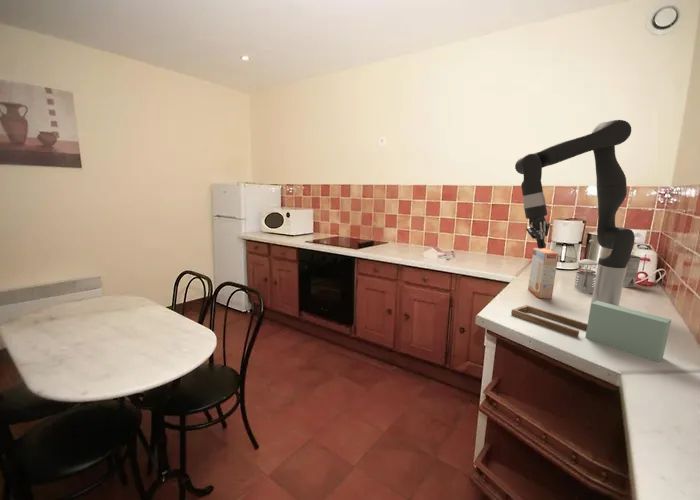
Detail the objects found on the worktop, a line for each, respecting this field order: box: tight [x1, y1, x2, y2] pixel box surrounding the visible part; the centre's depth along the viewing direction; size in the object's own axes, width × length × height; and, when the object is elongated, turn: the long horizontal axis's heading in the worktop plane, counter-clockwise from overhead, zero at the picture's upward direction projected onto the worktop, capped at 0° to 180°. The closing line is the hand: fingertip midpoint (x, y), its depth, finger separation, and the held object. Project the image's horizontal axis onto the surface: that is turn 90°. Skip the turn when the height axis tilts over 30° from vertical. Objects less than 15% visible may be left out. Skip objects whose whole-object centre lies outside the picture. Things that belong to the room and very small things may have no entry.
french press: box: [571, 239, 598, 294], centre depth 155 cm, size 10×12×25 cm
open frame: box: [511, 304, 588, 338], centre depth 118 cm, size 10×22×2 cm, turn 33°
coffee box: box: [622, 254, 642, 288], centre depth 167 cm, size 9×6×16 cm
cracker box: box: [527, 247, 559, 300], centre depth 148 cm, size 14×6×21 cm, turn 168°
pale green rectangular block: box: [585, 301, 672, 363], centre depth 99 cm, size 4×18×12 cm, turn 33°
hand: (541, 248), depth 128 cm, fingers closed
